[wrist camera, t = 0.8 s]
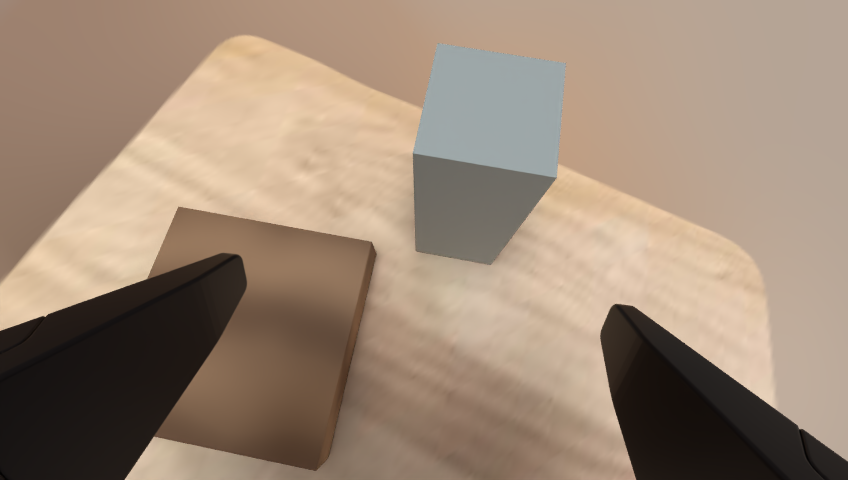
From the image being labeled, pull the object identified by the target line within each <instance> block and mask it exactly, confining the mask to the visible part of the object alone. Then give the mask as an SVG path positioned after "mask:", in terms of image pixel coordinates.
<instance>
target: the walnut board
mask: <svg viewBox="0 0 848 480" xmlns="http://www.w3.org/2000/svg"><path fill="white" fill-rule="evenodd" d="M224 252H225V253H233V254H238V255H240V256H241V257H242V260H243V264H244V268H245V273H246V278H247V288H246V291H245V293H244V295H243V297H242V298H241V300H240V302H239V304H238V306H237V308H236V310H235V311H234V313H233V315H232V317H231V319H230V321H229V323H228V325H227V326H226V328H225V330H224V332H223V334H222V336H221V337H220V339H219V341H218V342H217V344H216V346H215V347H214V349H213V350H212V352H211V353H210V355H209V356H208V358H207V359H206V361H205V362H204V363H203V365H202V366H201V368H200V369H199V371H198V372H197V374H196V375H195V377H194V378H193V380H192V381H191V383H190V384H189V386H188V387H187V389H186V390H185V391H184V393H183V394H182V396H181V397H180V399H179V400H178V402H177V403H176V405H175V406H174V408H173V409H172V411H171V412H170V414H169V415H168V416H167V418H166V419H165V421H164V422H163V424H162V425H161V427H160V428H159V430H158V431H157V433H156V434H155V436H154V437H159V438H164V439H168V440H173V441H178V442H182V443H187V444H192V445H197V446H201V447H206V448H211V449H215V450H220V451H225V452H229V453H234V454H239V455H243V456H248V457H253V458H258V459H262V460H267V461H272V462H276V463H281V464H286V465H290V466H295V467H300V468H305V469H309V470H314V471H316V470H317V469H318V468H319V467H320V466H321V465H322V464H323V463H324V462H325V461H326V460H327V459H328V456H329V452H330V448H331V443H332V439H333V435H334V431H335V426H336V422H337V418H338V414H339V410H340V405H341V401H342V397H343V393H344V388H345V384H346V380H347V376H348V372H349V367H350V363H351V359H352V355H353V350H354V346H355V342H356V338H357V334H358V329H359V325H360V321H361V317H362V312H363V308H364V304H365V300H366V295H367V291H368V287H369V283H370V279H371V274H372V270H373V266H374V262H375V257H376V251H375V249H374V246H373V244H372V242H369V241H364V240H358V239H353V238H347V237H342V236H337V235H331V234H326V233H320V232H315V231H309V230H304V229H298V228H293V227H287V226H282V225H276V224H271V223H265V222H260V221H254V220H249V219H243V218H238V217H232V216H227V215H221V214H216V213H210V212H205V211H199V210H194V209H189V208H183V207H178V209H177V211H176V214H175V216H174V218H173V221H172V223H171V225H170V228H169V230H168V232H167V234H166V237H165V239H164V241H163V244H162V246H161V248H160V251H159V253H158V255H157V258H156V260H155V262H154V264H153V267H152V269H151V271H150V274H149V276H148V278H147V279H149V278H152V277H155V276H157V275H160V274H163V273H166V272H169V271H172V270H174V269H177V268H180V267H183V266H186V265H188V264H191V263H194V262H197V261H200V260H203V259H205V258H208V257H211V256H214V255H217V254H219V253H224Z"/></svg>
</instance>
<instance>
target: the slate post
mask: <svg viewBox="0 0 848 480" xmlns="http://www.w3.org/2000/svg"><path fill="white" fill-rule="evenodd" d="M565 65H566V63H561V62H554V61H549V60H542V59H536V58H529V57H523V56H517V55H510V54H504V53H497V52H491V51H485V50H478V49H472V48H465V47H459V46H452V45H446V44H440V43H438V44H437V48H436V52H435V57H434V61H433V66H432V70H431V75H430V79H429V84H428V88H427V93H426V97H425V102H424V107H423V111H422V115H421V119H420V124H419V128H418V133H417V137H416V142H415V146H414V151H413V173H414V208H415V243H416V251H418V252H423V253H429V254H434V255H439V256H445V257H450V258H456V259H461V260H467V261H472V262H478V263H483V264H489V265H491V264H492V263H493V261H494V260H495V259H496V257H497V256H498V255H499V253H500V252H501V251H502V249H503V248H504V247H505V245H506V244H507V243H508V241H509V240H510V239H511V237H512V236H513V235H514V233H515V232H516V231H517V230H518V228H519V227H520V226H521V224H522V223H523V222H524V220H525V219H526V218H527V216H528V215H529V214H530V212H531V211H532V210H533V208H534V207H535V206H536V204H537V203H538V202H539V200H540V199H541V198H542V196H543V195H544V194H545V192H546V191H547V190H548V188H549V187H550V186H551V185H552V183H553V182H554V181H555V179H556V178H557V167H558V154H559V141H560V128H561V117H562V104H563V92H564V78H565V67H566V66H565Z"/></svg>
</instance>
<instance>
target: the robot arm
mask: <svg viewBox="0 0 848 480" xmlns="http://www.w3.org/2000/svg"><path fill="white" fill-rule="evenodd" d="M246 288H247V278H246V273H245V268H244V264H243V260H242V257H241V256H240V255H238V254H233V253H225V252H224V253H219V254H217V255H214V256H211V257H208V258H205V259H203V260H200V261H197V262H194V263H191V264H188V265H186V266H183V267H180V268H177V269H174V270H172V271H169V272H166V273H163V274H160V275H157V276H155V277H152V278H149V279H146V280H143V281H141V282H138V283H135V284H132V285H129V286H126V287H124V288H121V289H118V290H115V291H112V292H109V293H107V294H104V295H101V296H98V297H95V298H93V299H90V300H87V301H84V302H81V303H78V304H76V305H73V306H70V307H67V308H64V309H62V310H59V311H56V312H53V313H50V314H48V315H47V316H46V317H45V316H42V317H39V318H36V319H33V320H30V321H27V322H25V323H22V324H19V325H16V326H13V327H10V328H7V329H4V330H2V331H0V480H125V478H126V477H127V475H128V474H129V472H130V471H131V470H132V468H133V467H134V465H135V464H136V462H137V461H138V459H139V458H140V456H141V455H142V453H143V452H144V450H145V449H146V447H147V446H148V444H149V443H150V442H151V440H152V439H153V437H154V436H155V434H156V433H157V431H158V430H159V428H160V427H161V425H162V424H163V422H164V421H165V419H166V418H167V416H168V415H169V414H170V412H171V411H172V409H173V408H174V406H175V405H176V403H177V402H178V400H179V399H180V397H181V396H182V394H183V393H184V391H185V390H186V389H187V387H188V386H189V384H190V383H191V381H192V380H193V378H194V377H195V375H196V374H197V372H198V371H199V369H200V368H201V366H202V365H203V363H204V362H205V361H206V359H207V358H208V356H209V355H210V353H211V352H212V350H213V349H214V347H215V346H216V344H217V342H218V341H219V339H220V337H221V336H222V334H223V332H224V330H225V328H226V326H227V325H228V323H229V321H230V319H231V317H232V315H233V313H234V311H235V310H236V308H237V306H238V304H239V302H240V300H241V298H242V297H243V295H244V293H245V291H246ZM600 339H601V345H602V350H603V356H604V361H605V366H606V372H607V377H608V382H609V388H610V393H611V397H612V402H613V405H614V409H615V412H616V415H617V419H618V422H619V425H620V428H621V432H622V435H623V438H624V441H625V445H626V448H627V451H628V454H629V458H630V461H631V464H632V467H633V471H634V474H635V477H636V480H848V461H846V460H845V459H843V458H842V457H841V456H839V455H838V454H836V453H835V452H834V451H832V450H831V449H829V448H828V447H827V446H825V445H824V444H823V443H821V442H820V441H818V440H817V439H816V438H814V437H813V436H811V435H810V434H809V433H807V432H806V431H805V430H803V429H799V428H798V426H797V425H796V424H795V423H793V422H792V421H791V420H789V419H788V418H787V417H785V416H784V415H783V414H781V413H780V412H778V411H777V410H776V409H774V408H773V407H771V406H770V405H769V404H767V403H766V402H765V401H763V400H762V399H760V398H759V397H758V396H756V395H755V394H754V393H752V392H751V391H749V390H748V389H747V388H745V387H744V386H743V385H741V384H740V383H738V382H737V381H736V380H734V379H733V378H732V377H730V376H729V375H727V374H726V373H725V372H723V371H722V370H721V369H719V368H718V367H716V366H715V365H714V364H712V363H711V362H709V361H708V360H707V359H705V358H704V357H703V356H701V355H700V354H698V353H697V352H696V351H694V350H693V349H692V348H690V347H689V346H687V345H686V344H685V343H683V342H682V341H681V340H679V339H678V338H676V337H675V336H674V335H672V334H671V333H670V332H668V331H667V330H665V329H664V328H663V327H661V326H660V325H659V324H657V323H656V322H654V321H653V320H652V319H650V318H649V317H648V316H646V315H645V314H643V313H642V312H641V311H639V310H638V309H637V308H635V307H633V306H629V305H622V304H615V305H613V306H612V307H611V309H610V311H609V313H608V315H607V318H606V320H605V322H604V325H603V327H602V330H601V335H600Z"/></svg>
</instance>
